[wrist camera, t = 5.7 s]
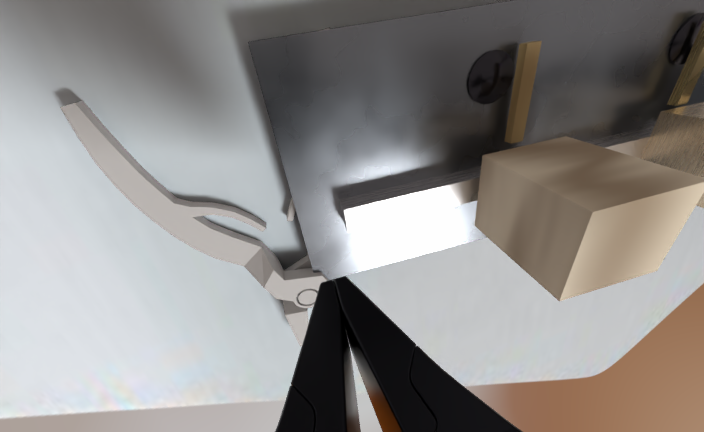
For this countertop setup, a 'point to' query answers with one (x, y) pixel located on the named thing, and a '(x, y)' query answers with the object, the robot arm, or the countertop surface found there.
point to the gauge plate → (467, 112)
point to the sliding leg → (578, 203)
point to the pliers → (200, 221)
